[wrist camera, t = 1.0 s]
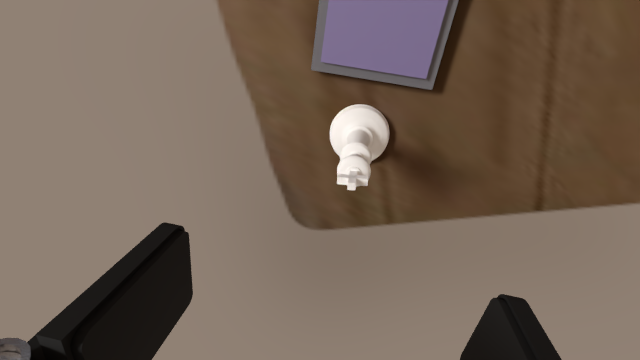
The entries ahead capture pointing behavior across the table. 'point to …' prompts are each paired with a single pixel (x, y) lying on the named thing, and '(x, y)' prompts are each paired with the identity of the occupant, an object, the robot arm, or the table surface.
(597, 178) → the table surface
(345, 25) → the ink pad
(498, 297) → the robot arm
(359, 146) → the chess piece
